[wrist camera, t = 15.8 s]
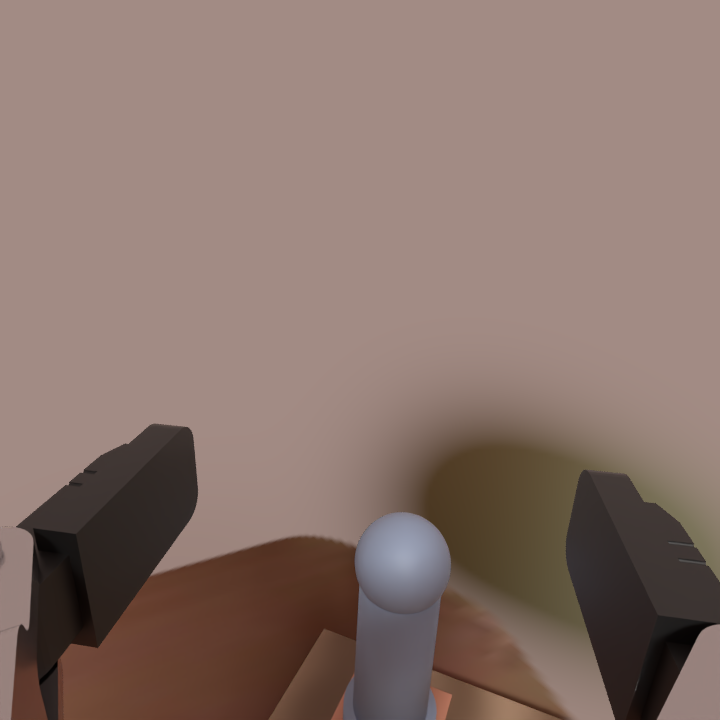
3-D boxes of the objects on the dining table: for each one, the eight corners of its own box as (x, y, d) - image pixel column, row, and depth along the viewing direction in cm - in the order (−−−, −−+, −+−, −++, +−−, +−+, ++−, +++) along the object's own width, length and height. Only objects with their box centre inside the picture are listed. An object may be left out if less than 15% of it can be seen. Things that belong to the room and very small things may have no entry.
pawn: (326, 739, 27) (333, 535, 23) (366, 665, 32) (378, 481, 27) (416, 787, 25) (441, 573, 21) (445, 701, 30) (471, 509, 25)
